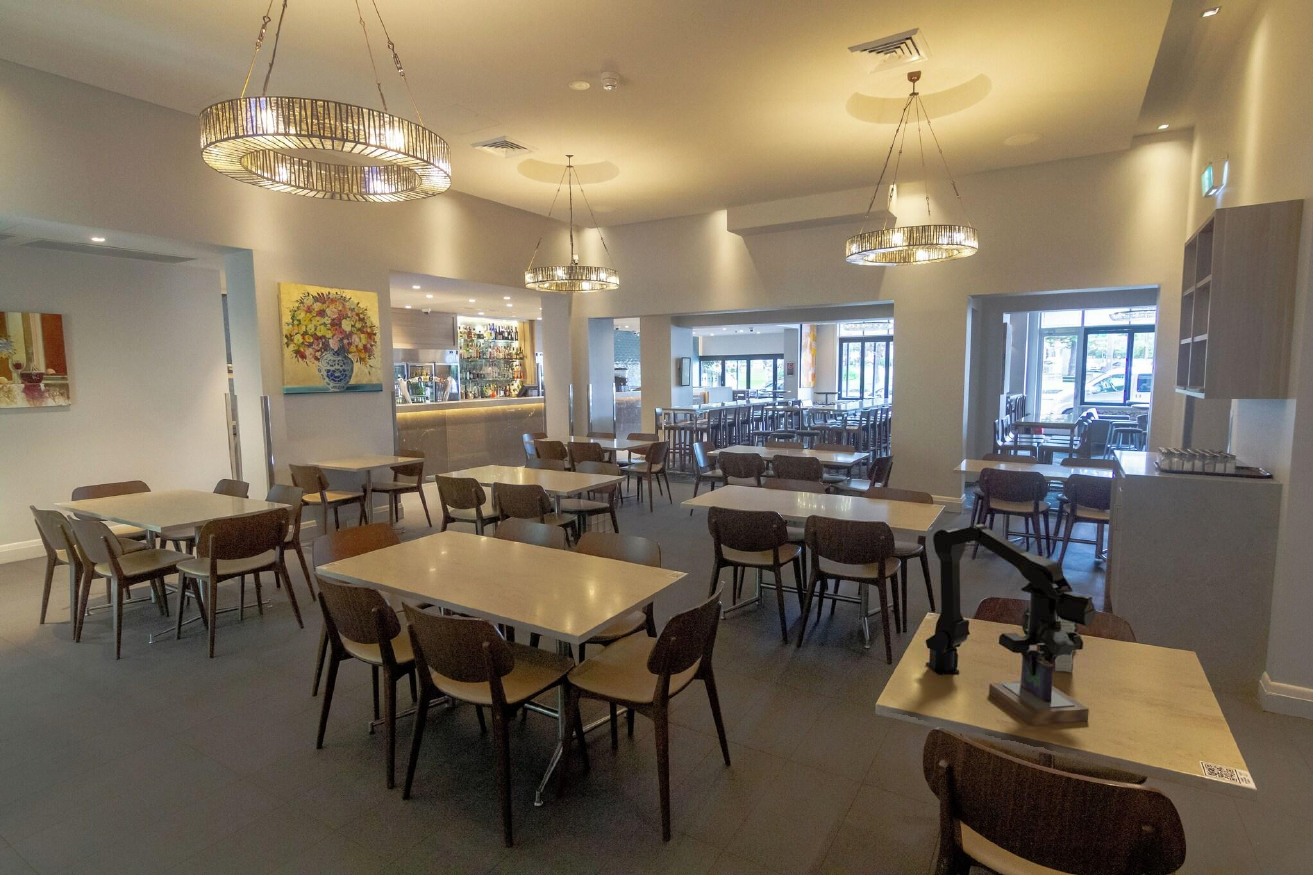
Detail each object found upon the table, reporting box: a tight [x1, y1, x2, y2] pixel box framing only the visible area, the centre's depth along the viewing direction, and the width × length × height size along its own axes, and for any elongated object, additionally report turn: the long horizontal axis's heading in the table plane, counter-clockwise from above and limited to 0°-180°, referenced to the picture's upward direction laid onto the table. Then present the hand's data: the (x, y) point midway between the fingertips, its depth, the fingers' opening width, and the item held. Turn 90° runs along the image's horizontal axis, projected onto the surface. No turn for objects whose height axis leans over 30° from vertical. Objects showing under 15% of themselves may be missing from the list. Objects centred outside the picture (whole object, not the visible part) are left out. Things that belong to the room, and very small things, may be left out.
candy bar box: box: [1053, 616, 1075, 674], centre depth 184 cm, size 11×5×16 cm, turn 168°
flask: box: [1020, 650, 1054, 703], centre depth 160 cm, size 9×3×11 cm, turn 8°
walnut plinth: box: [988, 680, 1090, 726], centre depth 161 cm, size 15×15×3 cm
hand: (1038, 674), depth 160 cm, fingers open, 3 cm apart
